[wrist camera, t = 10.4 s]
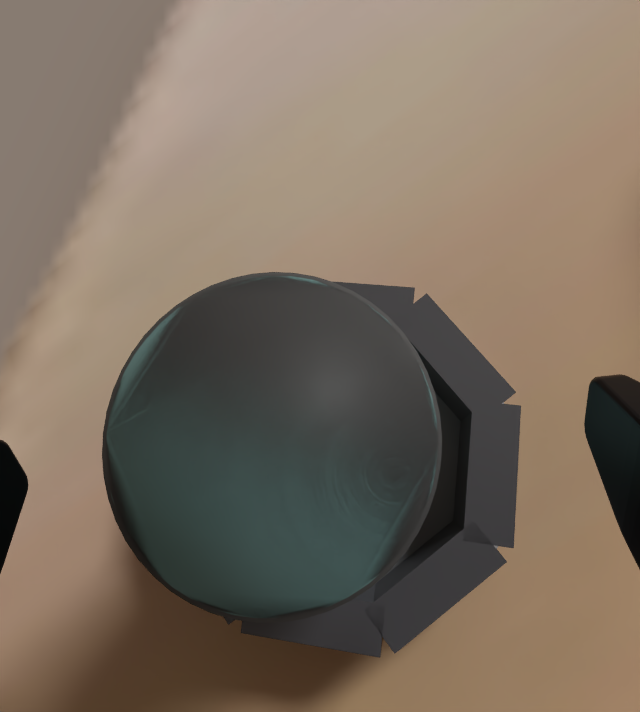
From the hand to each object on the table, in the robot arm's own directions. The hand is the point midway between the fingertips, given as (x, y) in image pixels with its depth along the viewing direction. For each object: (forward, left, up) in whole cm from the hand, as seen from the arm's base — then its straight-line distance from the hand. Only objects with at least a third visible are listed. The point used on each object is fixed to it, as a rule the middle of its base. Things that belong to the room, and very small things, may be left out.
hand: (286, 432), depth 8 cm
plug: (0, 0, -9) cm, 9 cm away
